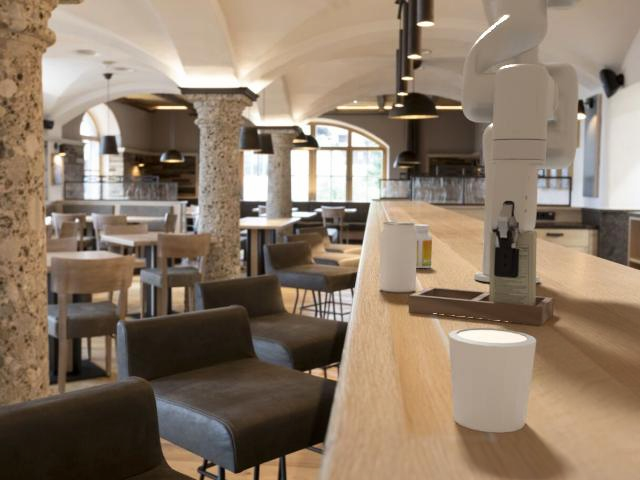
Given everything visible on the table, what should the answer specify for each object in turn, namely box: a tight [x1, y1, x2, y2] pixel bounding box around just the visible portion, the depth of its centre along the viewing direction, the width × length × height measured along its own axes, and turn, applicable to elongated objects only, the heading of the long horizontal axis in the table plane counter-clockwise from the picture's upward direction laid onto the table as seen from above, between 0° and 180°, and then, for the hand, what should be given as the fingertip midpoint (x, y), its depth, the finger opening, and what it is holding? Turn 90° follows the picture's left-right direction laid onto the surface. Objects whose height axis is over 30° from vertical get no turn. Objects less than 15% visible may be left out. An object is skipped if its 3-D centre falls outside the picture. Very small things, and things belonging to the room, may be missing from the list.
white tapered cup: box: [448, 327, 537, 434], centre depth 57 cm, size 7×7×7 cm
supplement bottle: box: [415, 223, 433, 269], centre depth 160 cm, size 5×5×10 cm
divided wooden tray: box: [408, 286, 555, 326], centre depth 105 cm, size 10×19×2 cm, turn 63°
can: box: [378, 221, 417, 294], centre depth 125 cm, size 6×6×12 cm
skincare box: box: [488, 230, 537, 306], centre depth 102 cm, size 6×4×12 cm
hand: (513, 273), depth 102 cm, fingers open, 9 cm apart
